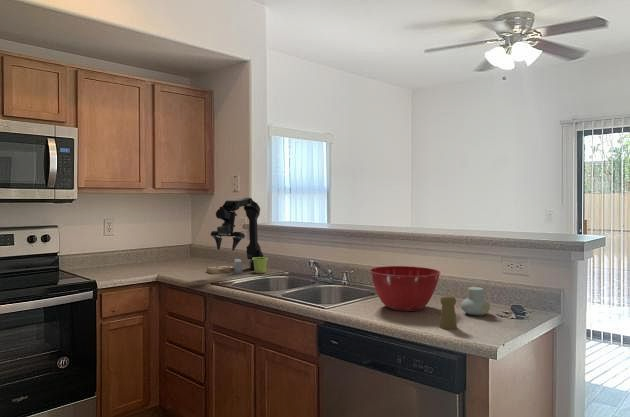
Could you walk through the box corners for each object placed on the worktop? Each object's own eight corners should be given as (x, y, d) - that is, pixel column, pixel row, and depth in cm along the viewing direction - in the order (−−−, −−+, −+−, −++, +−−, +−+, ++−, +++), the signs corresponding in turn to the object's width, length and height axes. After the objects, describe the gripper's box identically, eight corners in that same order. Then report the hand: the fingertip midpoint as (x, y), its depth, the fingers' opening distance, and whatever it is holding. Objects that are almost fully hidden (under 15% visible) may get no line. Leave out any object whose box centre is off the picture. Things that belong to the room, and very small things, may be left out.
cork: (453, 324, 175) (454, 294, 175) (459, 329, 169) (459, 297, 168) (437, 324, 175) (437, 294, 174) (441, 329, 169) (442, 297, 168)
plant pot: (271, 272, 290) (271, 258, 289) (261, 274, 282) (261, 259, 281) (259, 271, 295) (259, 256, 294) (248, 273, 287) (248, 258, 286)
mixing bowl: (385, 297, 221) (385, 263, 220) (448, 304, 206) (449, 268, 206) (358, 310, 197) (358, 271, 196) (427, 319, 182) (427, 278, 181)
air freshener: (473, 309, 197) (473, 285, 197) (492, 313, 191) (492, 288, 191) (458, 314, 190) (458, 288, 190) (478, 318, 184) (478, 291, 184)
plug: (239, 272, 286) (239, 259, 286) (242, 273, 283) (242, 259, 283) (234, 273, 284) (233, 259, 284) (236, 274, 281) (236, 260, 281)
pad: (242, 272, 290) (242, 271, 290) (248, 274, 282) (248, 273, 282) (228, 273, 285) (228, 272, 285) (233, 276, 278) (233, 275, 278)
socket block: (229, 270, 297) (229, 265, 297) (235, 273, 288) (235, 267, 288) (206, 272, 290) (206, 266, 290) (211, 274, 281) (211, 269, 281)
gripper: (206, 219, 269) (203, 247, 266) (236, 219, 262) (233, 248, 259) (217, 223, 279) (214, 250, 276) (246, 223, 273) (243, 251, 269)
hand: (225, 250), depth 270 cm, fingers open, 9 cm apart
